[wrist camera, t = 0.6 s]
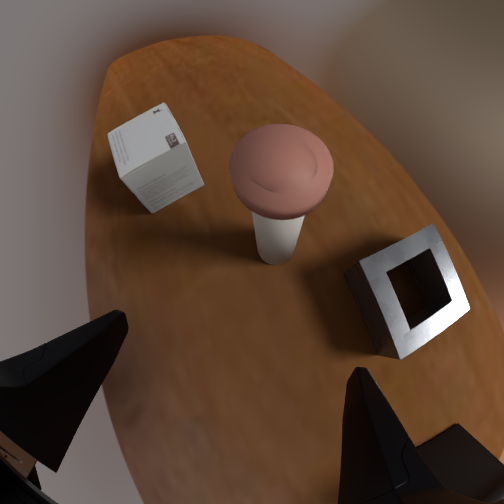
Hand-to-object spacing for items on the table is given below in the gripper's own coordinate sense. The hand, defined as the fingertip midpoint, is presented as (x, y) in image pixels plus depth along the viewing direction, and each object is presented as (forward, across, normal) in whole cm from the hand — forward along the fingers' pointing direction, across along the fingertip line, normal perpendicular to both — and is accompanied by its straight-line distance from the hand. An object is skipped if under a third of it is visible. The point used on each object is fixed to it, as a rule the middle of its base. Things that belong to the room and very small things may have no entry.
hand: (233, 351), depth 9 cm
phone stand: (+2, -22, +18) cm, 29 cm away
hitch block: (+14, -12, +5) cm, 19 cm away
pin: (+15, 0, +3) cm, 15 cm away
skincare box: (+19, +12, 0) cm, 22 cm away
